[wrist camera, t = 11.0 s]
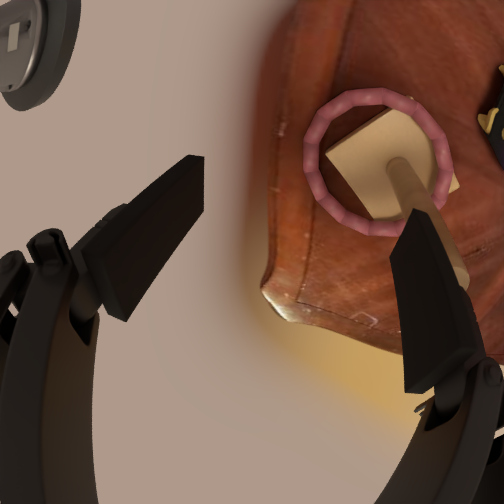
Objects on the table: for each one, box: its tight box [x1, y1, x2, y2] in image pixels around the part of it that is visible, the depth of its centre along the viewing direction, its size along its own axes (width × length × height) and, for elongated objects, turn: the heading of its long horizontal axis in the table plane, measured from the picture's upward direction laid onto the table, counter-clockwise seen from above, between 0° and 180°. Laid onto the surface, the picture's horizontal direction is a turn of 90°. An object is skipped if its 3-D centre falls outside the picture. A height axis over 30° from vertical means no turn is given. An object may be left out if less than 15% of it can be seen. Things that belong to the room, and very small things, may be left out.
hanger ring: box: [303, 87, 454, 237], centre depth 17 cm, size 11×12×1 cm
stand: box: [326, 96, 469, 291], centre depth 13 cm, size 8×8×13 cm
